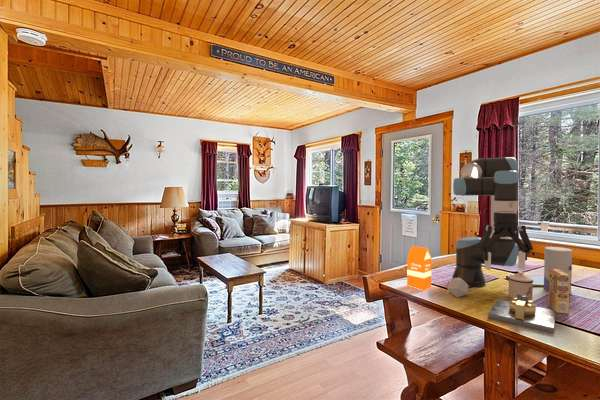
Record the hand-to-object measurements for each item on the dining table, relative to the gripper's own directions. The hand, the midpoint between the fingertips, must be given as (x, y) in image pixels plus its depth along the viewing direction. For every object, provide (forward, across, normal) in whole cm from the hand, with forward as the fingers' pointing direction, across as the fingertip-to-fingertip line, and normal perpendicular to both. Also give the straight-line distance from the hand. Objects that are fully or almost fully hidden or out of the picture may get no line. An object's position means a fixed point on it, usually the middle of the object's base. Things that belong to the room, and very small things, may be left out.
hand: (504, 269), depth 117 cm
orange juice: (+19, -19, +36) cm, 45 cm away
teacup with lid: (+19, +21, +21) cm, 35 cm away
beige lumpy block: (+16, +5, -2) cm, 17 cm away
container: (+19, +44, +30) cm, 57 cm away
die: (+19, -6, +24) cm, 31 cm away
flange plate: (+18, +7, 0) cm, 20 cm away
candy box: (+19, +26, +7) cm, 33 cm away
